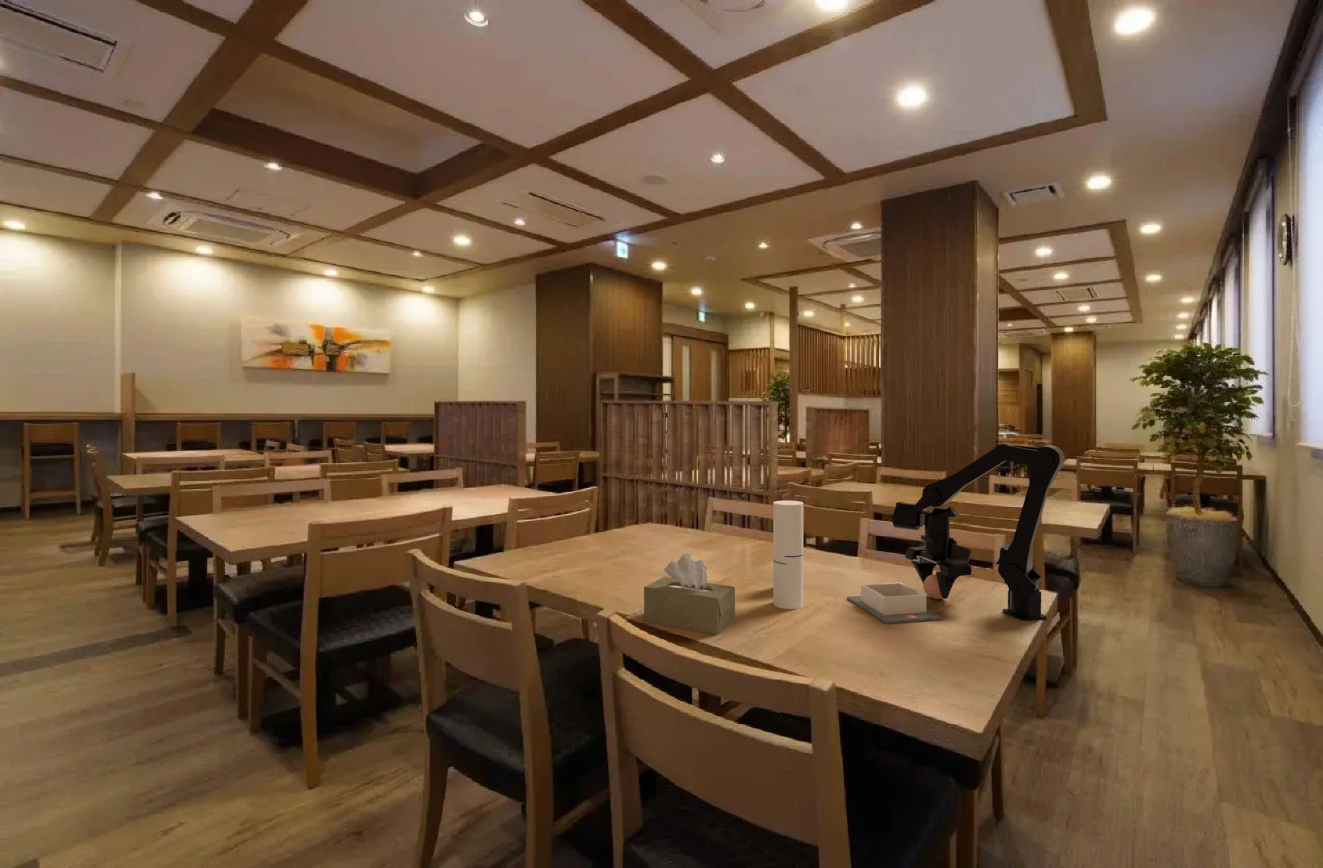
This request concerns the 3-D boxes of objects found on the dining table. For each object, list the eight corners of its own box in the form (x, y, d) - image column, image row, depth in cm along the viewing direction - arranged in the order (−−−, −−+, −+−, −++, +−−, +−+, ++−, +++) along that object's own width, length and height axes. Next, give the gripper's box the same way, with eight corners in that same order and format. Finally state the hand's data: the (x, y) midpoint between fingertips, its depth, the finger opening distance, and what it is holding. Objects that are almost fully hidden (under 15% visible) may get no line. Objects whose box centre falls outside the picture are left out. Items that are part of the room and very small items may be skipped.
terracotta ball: (954, 601, 149) (955, 577, 149) (932, 603, 148) (933, 578, 148) (939, 594, 155) (939, 571, 155) (918, 595, 154) (918, 572, 154)
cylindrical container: (803, 610, 144) (803, 505, 143) (773, 608, 145) (773, 504, 144) (802, 600, 150) (802, 500, 150) (773, 599, 152) (773, 500, 151)
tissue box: (642, 621, 137) (642, 552, 136) (663, 609, 146) (663, 544, 145) (718, 636, 128) (718, 562, 127) (736, 622, 136) (736, 552, 136)
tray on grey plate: (943, 619, 136) (943, 599, 136) (885, 623, 134) (886, 603, 134) (898, 595, 154) (898, 577, 154) (847, 599, 152) (847, 580, 151)
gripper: (992, 539, 143) (991, 604, 144) (942, 524, 161) (941, 582, 162) (950, 541, 141) (949, 607, 142) (904, 526, 159) (903, 584, 160)
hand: (936, 594), depth 151 cm, fingers open, 6 cm apart
